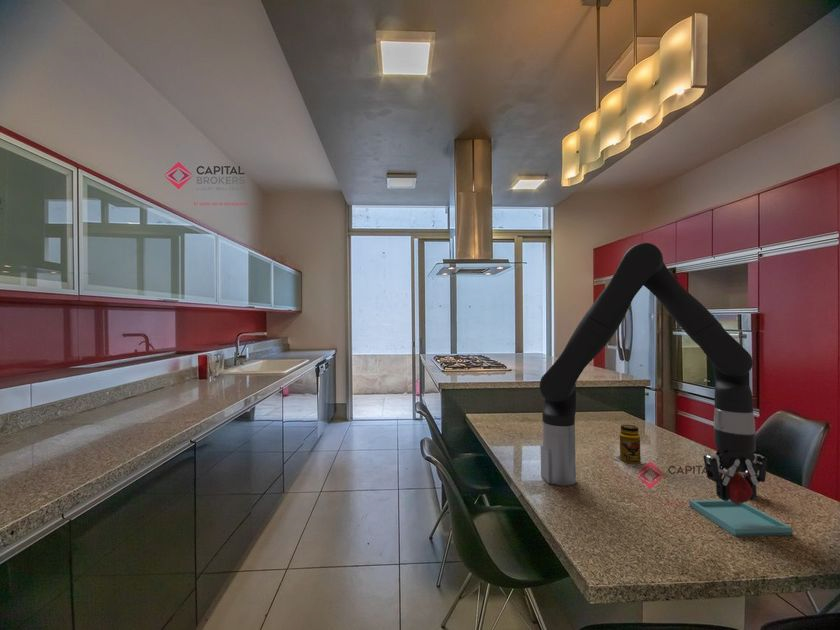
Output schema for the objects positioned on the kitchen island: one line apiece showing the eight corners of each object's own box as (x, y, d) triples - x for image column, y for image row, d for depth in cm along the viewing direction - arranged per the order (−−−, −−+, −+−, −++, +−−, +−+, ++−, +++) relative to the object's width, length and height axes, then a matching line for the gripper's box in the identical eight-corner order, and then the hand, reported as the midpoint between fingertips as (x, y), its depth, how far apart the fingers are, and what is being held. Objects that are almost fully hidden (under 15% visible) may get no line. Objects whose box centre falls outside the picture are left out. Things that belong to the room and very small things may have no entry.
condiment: (632, 466, 119) (631, 430, 119) (609, 458, 126) (609, 423, 127) (647, 463, 121) (646, 427, 122) (624, 455, 129) (623, 421, 130)
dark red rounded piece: (759, 511, 83) (758, 476, 83) (730, 508, 84) (729, 474, 84) (742, 499, 88) (741, 466, 89) (715, 497, 90) (714, 464, 90)
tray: (735, 536, 79) (735, 529, 79) (689, 506, 92) (689, 500, 92) (792, 535, 80) (792, 527, 80) (738, 505, 93) (738, 499, 93)
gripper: (718, 433, 83) (720, 507, 82) (778, 432, 83) (781, 506, 83) (692, 424, 90) (694, 492, 90) (748, 423, 91) (750, 491, 90)
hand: (736, 498), depth 86 cm, fingers closed on dark red rounded piece, 6 cm apart
